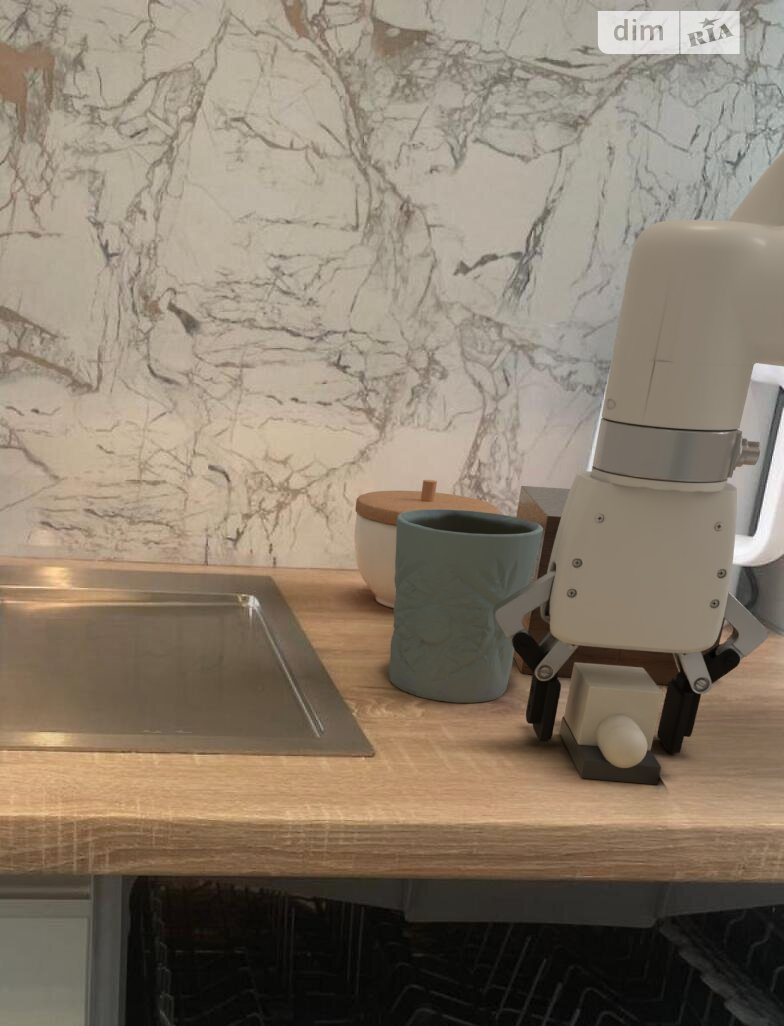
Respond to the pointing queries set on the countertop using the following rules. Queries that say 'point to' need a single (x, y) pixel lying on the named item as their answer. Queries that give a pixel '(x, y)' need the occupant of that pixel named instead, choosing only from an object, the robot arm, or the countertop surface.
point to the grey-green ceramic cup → (457, 601)
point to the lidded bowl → (395, 530)
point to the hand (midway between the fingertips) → (604, 738)
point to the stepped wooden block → (547, 513)
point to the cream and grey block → (612, 723)
